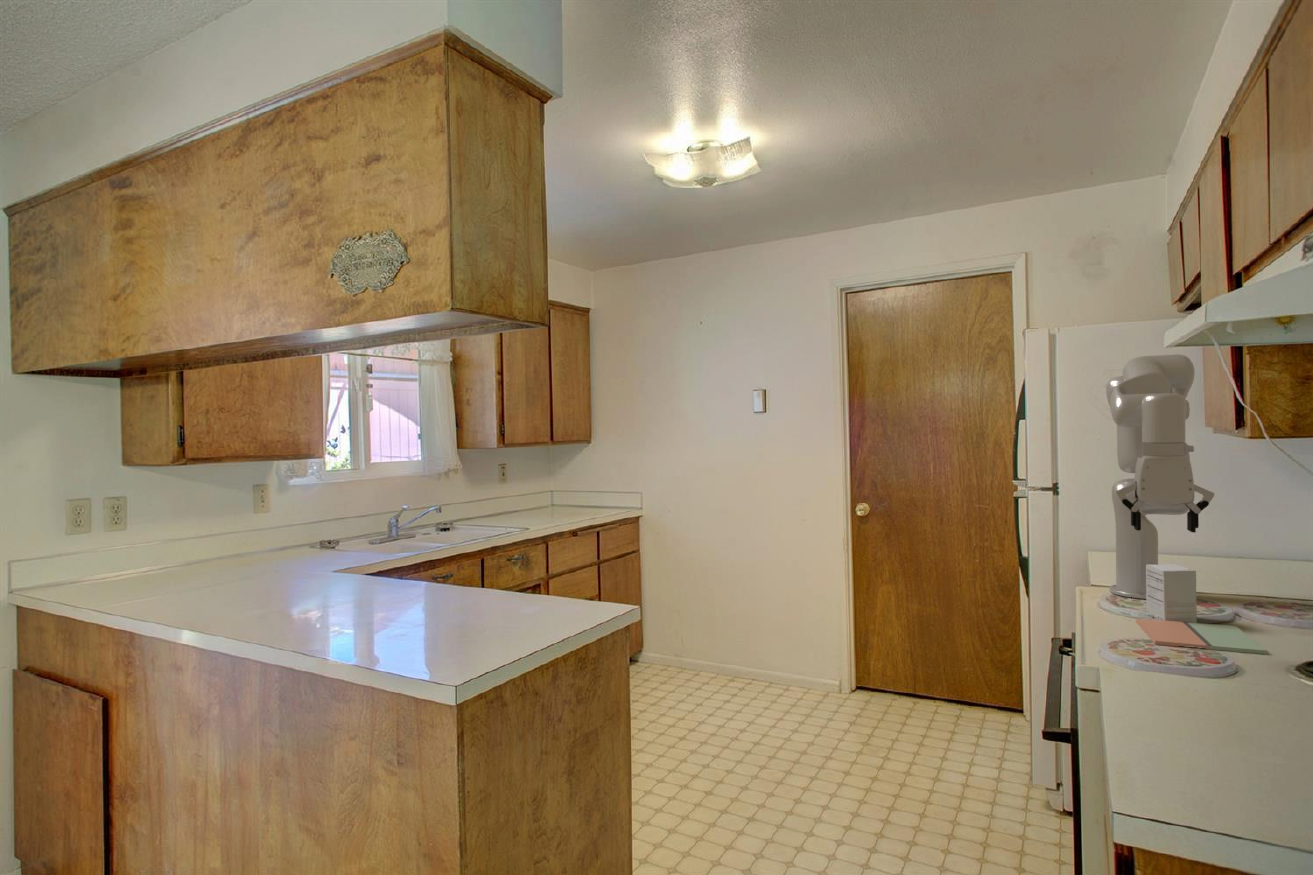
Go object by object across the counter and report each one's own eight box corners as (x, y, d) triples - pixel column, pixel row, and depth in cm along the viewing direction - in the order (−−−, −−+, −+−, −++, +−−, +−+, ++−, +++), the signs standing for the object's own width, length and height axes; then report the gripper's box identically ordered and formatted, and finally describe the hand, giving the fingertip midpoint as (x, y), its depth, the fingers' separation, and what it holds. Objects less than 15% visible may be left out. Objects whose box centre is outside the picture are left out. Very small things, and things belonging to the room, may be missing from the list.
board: (1135, 621, 166) (1135, 617, 166) (1235, 629, 159) (1235, 625, 158) (1155, 644, 150) (1155, 640, 150) (1267, 654, 142) (1267, 650, 142)
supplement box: (1177, 615, 171) (1177, 563, 171) (1197, 623, 163) (1197, 570, 163) (1145, 614, 172) (1144, 563, 171) (1164, 623, 164) (1163, 570, 164)
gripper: (1207, 450, 150) (1208, 529, 150) (1112, 450, 157) (1113, 526, 157) (1219, 451, 143) (1219, 535, 143) (1119, 452, 150) (1120, 531, 150)
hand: (1164, 530), depth 150 cm, fingers open, 9 cm apart
